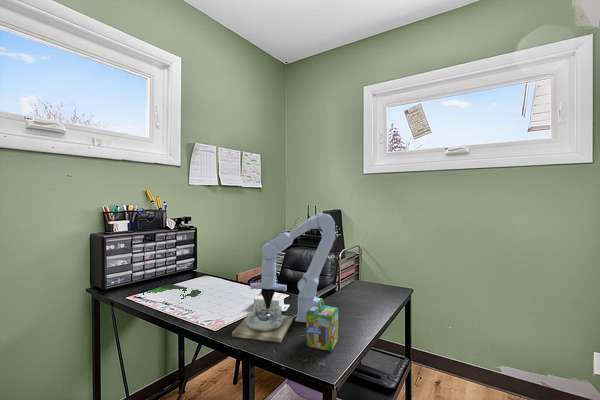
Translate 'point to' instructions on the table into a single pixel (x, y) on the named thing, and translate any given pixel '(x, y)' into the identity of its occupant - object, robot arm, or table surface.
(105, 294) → the table surface
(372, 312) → the table surface
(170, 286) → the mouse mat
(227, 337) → the table surface
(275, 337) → the base plate
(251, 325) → the clear bowl
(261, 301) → the ink cartridge box
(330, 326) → the chalk box
